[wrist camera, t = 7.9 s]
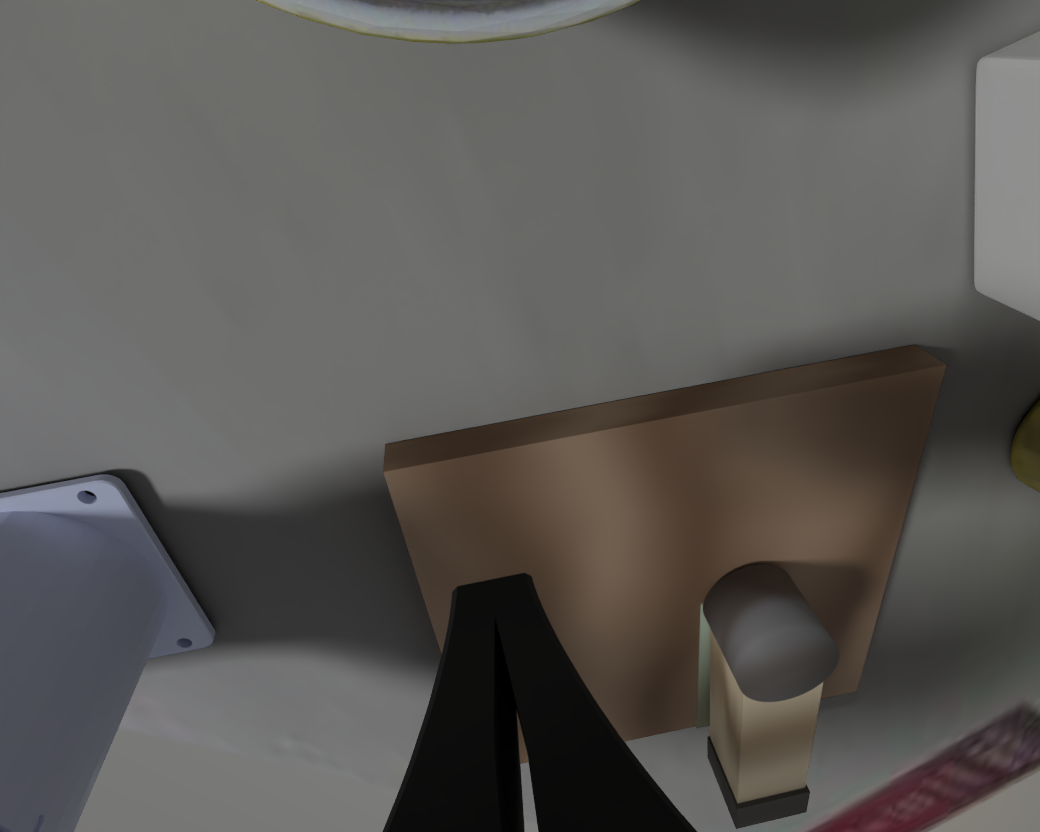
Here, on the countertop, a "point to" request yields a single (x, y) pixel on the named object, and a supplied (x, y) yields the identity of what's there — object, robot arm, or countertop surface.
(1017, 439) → the vase
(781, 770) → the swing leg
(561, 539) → the wooden board
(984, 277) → the milk carton
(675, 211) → the countertop surface
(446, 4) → the ceramic cup
